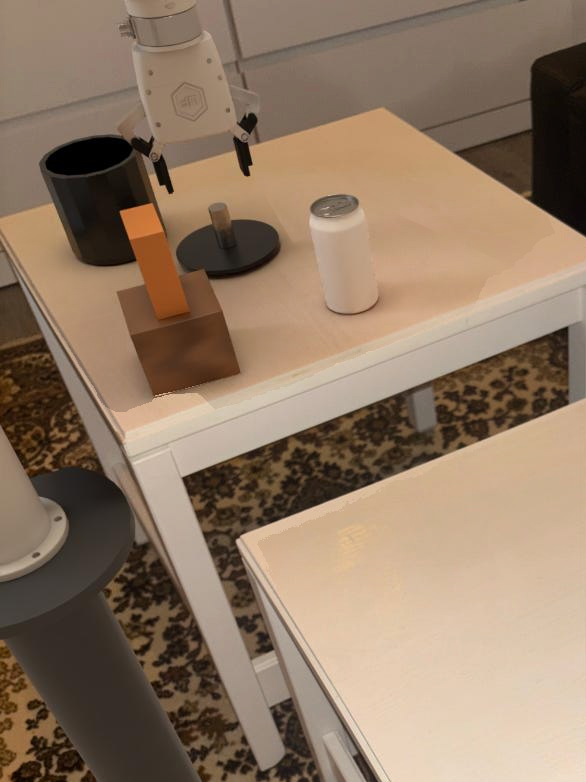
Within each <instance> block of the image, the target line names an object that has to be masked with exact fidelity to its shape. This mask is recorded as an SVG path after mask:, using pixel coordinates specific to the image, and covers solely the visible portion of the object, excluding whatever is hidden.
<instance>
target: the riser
mask: <svg viewBox="0 0 586 782" xmlns="http://www.w3.org/2000/svg"><path fill="white" fill-rule="evenodd" d="M178 276H179V279H180V282H181V285H182V288H183V291H184V295H185V298H186V301H187V304H188V307H189V310H190V312H186V313H183V314H179V315H175V316H171V317H168V318H164V319H160V320H158V319H157V316H156V313H155V310H154V308H153V305H152V302H151V299H150V296H149V293H148V291H147V288H146V285H145V283H144V284H140V285H136V286H133V287H129V288H125V289H121V290H117V291H116V295H117V298H118V301H119V305H120V307H121V311H122V315H123V317H124V320H125V325H126V327H127V330H128V333H129V336H130V339H131V342H132V345H133V347H134V350H135V352H136V355H137V357H138V360H139V363H140V365H141V368H142V371H143V373H144V376H145V378H146V381H147V383H148V387H149V389H150V392H151V395H152V396H155V395H159V394H163V393H168V392H173V391H177V390H180V391H182V390H181V389H184V390H186V389H185V388H188V387H191V388H193V387H192V386H195V387H197V386H196V385H198V386H201V385H200V384H202V385H205V384H208V383H207V382H209V383H212V382H215V380H216V381H218V379H219V380H222V379H221V378H223V379H226V378H229V377H232V375H233V376H236V375H239V373H240V374H241V373H242V372H241V368H240V365H239V362H238V358H237V355H236V351H235V349H234V344H233V341H232V339H231V334H230V331H229V328H228V325H227V322H226V321H227V320H226V318H225V315H224V312H223V308H222V306H221V304H220V302H219V300H218V297H217V295H216V293H215V290H214V289H213V286H212V283H211V282H210V279H209V277H208V275H206V272H205V270H204V269H202V270H198V271H194V272H191V271H189V272H187V273H182V274H178ZM211 381H212V382H211ZM204 383H205V384H204ZM188 389H189V388H188ZM177 392H178V391H177ZM173 393H174V392H173Z"/></svg>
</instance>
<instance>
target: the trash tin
mask: <svg viewBox="0 0 586 782" xmlns="http://www.w3.org/2000/svg"><path fill="white" fill-rule="evenodd" d="M38 166H39V170H40V174H41V176H42V178H43V181H44V183H45V186H46V189H47V191H48V193H49V195H50V198H51V200H52V203H53V206H54V208H55V210H56V213H57V215H58V218H59V220H60V223H61V225H62V228H63V230H64V233H65V235H66V237H67V240H68V243H69V245H70V248H71V250H72V253H73V254H74V256H75V257H76V259H78V260H79V261H82V262H83V263H87V264H90V265H97V266H98V265H99V266H100V265H101V266H104V265H106V266H108V265H118V264H123V263H128V262H130V261H133V260H134V261H135V260H136V257H135V254H134V251H133V248H132V245H131V243H130V240H129V237H128V234H127V231H126V228H125V226H124V223H123V220H122V217H121V214H120V211H122V210H126V209H130V208H134V207H138V206H143V205H147V204H151V203H153V206H154V208H155V211H156V213H157V215H158V218H159V220H160V223H161V225H162V228H163V230H164V233H165V236H166V237H167V229H166V226H165V222H164V219H163V217H162V213H161V210H160V207H159V204H158V201H157V197H156V195H155V192H154V188H153V185H152V182H151V179H150V176H149V173H148V169H147V167H146V164H145V161H144V158H143V154H141V153H140V152H138V151H137V150H135V149H134V148H133V147H132V146H131V145H130V143H129V142H127V140H126V139H125V138H124V137H123V136H122V135H121V134H113V133H111V134H110V133H108V134H95V135H89V136H85V137H80V138H75V139H73V140H70V141H67V142H65V143H62V144H60V145H58V146H55V147H54V148H53V149H51V150H50V151H48V152H47V153H45V154H44V155H43V156H42V158H41V159H40V161H39V162H38Z"/></svg>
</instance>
